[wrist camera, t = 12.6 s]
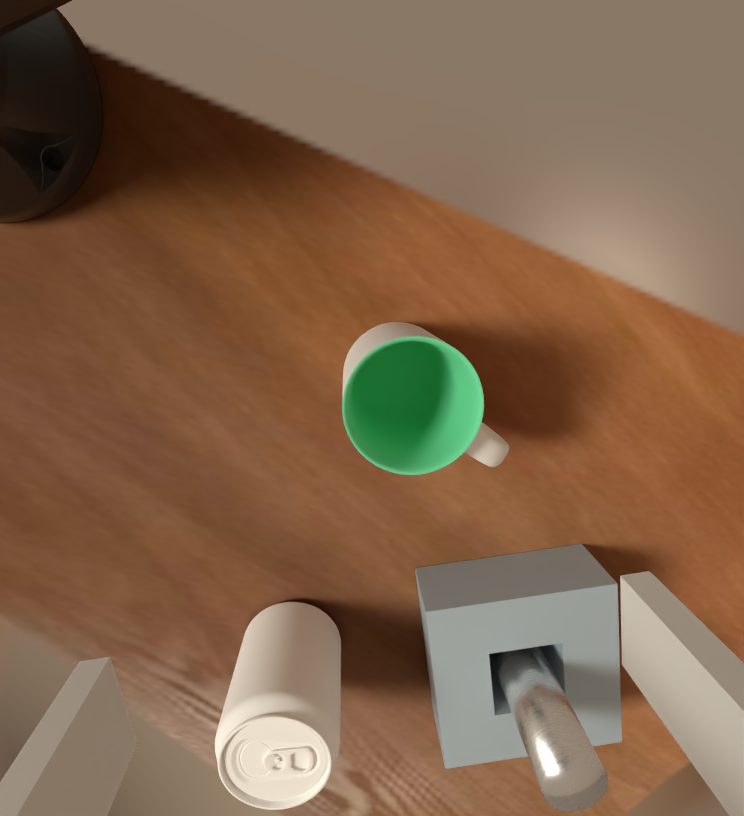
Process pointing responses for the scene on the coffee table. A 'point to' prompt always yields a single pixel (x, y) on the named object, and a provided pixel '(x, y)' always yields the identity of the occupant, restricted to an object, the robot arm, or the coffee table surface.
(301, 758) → the beverage can
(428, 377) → the mug
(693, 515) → the coffee table surface
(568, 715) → the peg
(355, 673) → the coffee table surface
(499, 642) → the socket block
